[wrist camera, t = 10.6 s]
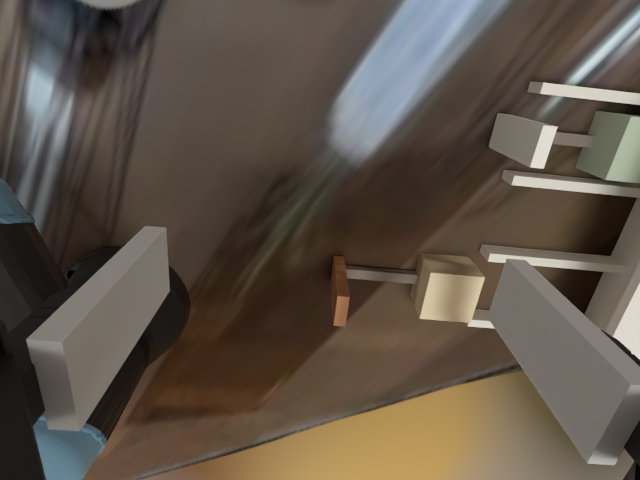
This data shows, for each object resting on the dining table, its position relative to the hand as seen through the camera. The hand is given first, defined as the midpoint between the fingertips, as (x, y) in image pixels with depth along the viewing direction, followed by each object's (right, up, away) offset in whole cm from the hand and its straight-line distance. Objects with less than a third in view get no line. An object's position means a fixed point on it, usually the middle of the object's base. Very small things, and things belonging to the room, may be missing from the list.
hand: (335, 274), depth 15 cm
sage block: (+25, +12, +26) cm, 39 cm away
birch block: (+9, -3, +33) cm, 34 cm away
